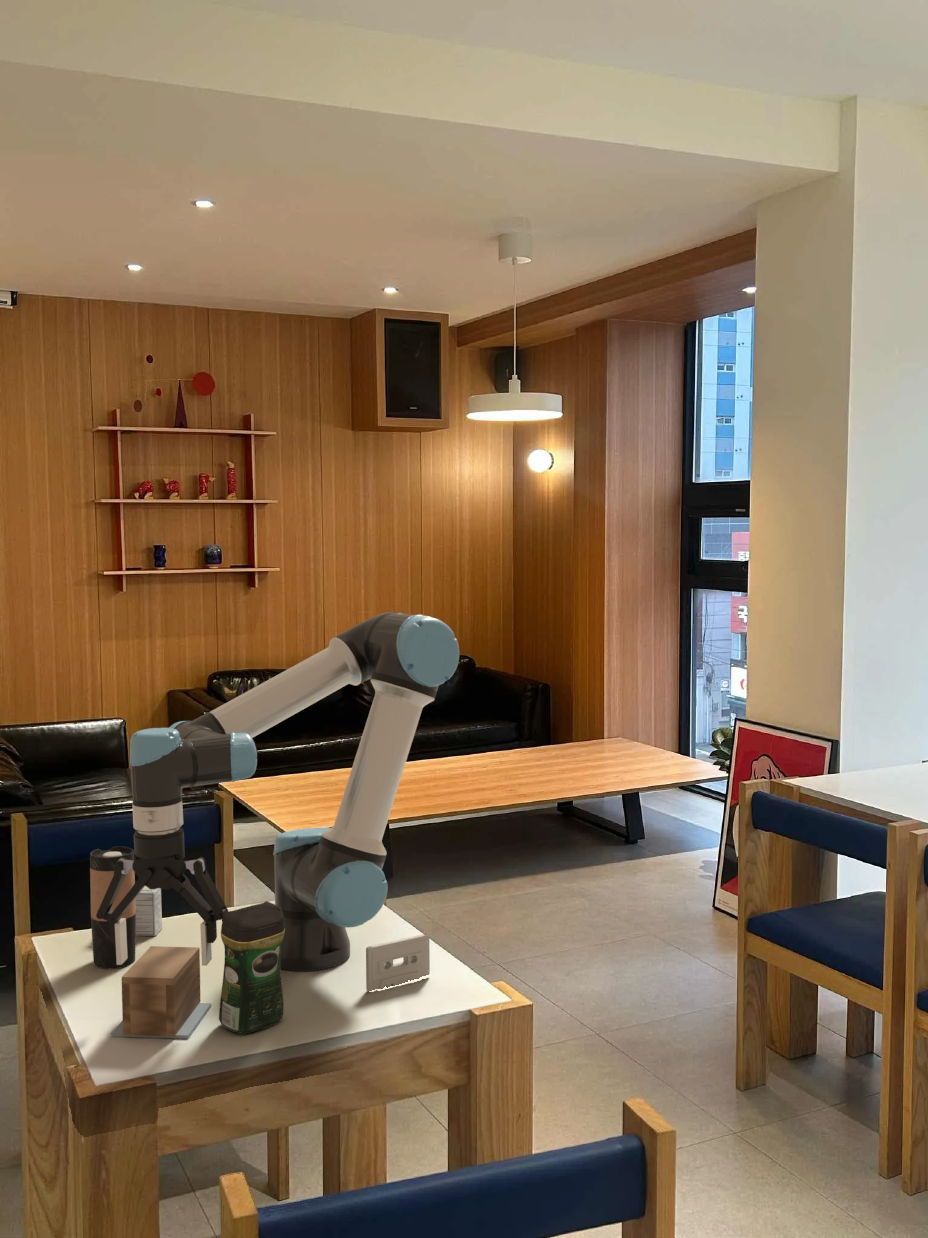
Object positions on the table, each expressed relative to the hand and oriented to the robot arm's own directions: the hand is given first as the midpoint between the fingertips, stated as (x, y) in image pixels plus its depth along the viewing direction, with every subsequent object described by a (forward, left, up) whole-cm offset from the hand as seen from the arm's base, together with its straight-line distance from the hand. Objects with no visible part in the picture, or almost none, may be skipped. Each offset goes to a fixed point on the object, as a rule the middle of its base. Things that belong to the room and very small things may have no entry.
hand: (164, 962), depth 180 cm
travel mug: (+17, -24, -10) cm, 31 cm away
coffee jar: (-14, 0, -9) cm, 16 cm away
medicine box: (+18, -39, -10) cm, 44 cm away
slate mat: (0, 0, -9) cm, 9 cm away
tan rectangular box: (0, 0, -9) cm, 9 cm away
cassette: (-35, -17, -10) cm, 40 cm away
